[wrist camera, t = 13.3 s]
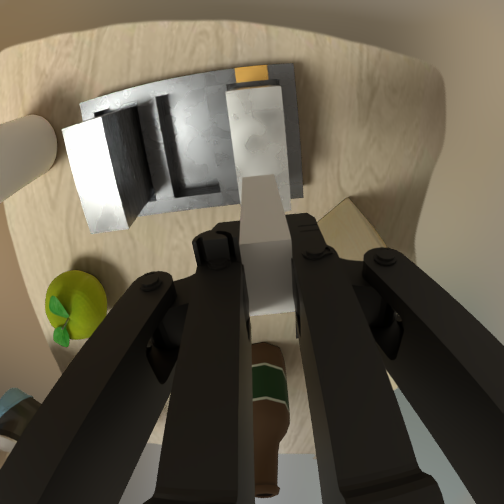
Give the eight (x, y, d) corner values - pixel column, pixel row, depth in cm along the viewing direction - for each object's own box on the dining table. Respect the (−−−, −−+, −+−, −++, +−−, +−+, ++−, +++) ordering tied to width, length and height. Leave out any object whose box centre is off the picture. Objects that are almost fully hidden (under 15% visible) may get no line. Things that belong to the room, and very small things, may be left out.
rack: (119, 208, 37) (81, 254, 28) (93, 100, 30) (40, 114, 21) (298, 186, 36) (316, 230, 27) (289, 64, 29) (306, 58, 20)
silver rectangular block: (244, 178, 35) (241, 215, 26) (232, 88, 30) (225, 91, 21) (280, 174, 34) (291, 210, 26) (272, 84, 29) (280, 85, 21)
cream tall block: (333, 272, 42) (377, 405, 24) (298, 237, 40) (331, 376, 22) (379, 235, 39) (454, 356, 21) (347, 196, 37) (425, 314, 19)
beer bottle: (265, 333, 48) (271, 484, 27) (293, 358, 51) (308, 494, 30) (227, 354, 50) (219, 494, 30) (257, 376, 54) (259, 504, 33)
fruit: (63, 296, 45) (37, 339, 36) (64, 250, 40) (30, 291, 32) (113, 315, 47) (93, 363, 38) (120, 270, 42) (94, 318, 33)
